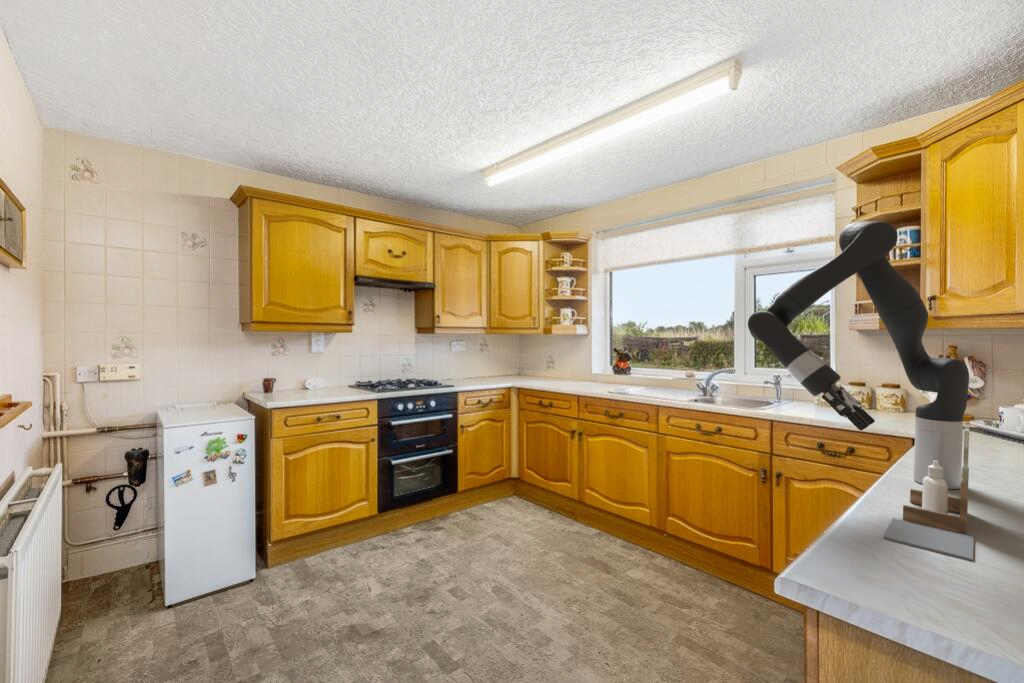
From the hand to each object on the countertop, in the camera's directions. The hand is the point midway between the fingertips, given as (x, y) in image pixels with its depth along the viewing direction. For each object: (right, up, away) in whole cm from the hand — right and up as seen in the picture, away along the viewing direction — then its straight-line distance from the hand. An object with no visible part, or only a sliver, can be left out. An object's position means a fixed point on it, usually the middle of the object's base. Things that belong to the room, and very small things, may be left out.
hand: (868, 426), depth 107 cm
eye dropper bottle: (+8, -18, -8) cm, 21 cm away
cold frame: (+8, -18, -8) cm, 21 cm away
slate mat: (-3, -18, -19) cm, 26 cm away
